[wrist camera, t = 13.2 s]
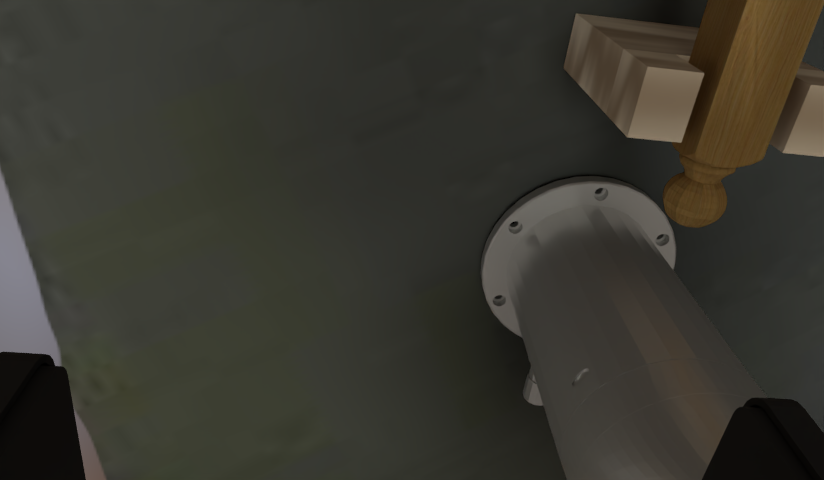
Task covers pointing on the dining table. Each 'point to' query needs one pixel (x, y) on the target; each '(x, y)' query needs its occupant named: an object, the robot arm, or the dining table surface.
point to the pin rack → (672, 82)
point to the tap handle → (736, 97)
